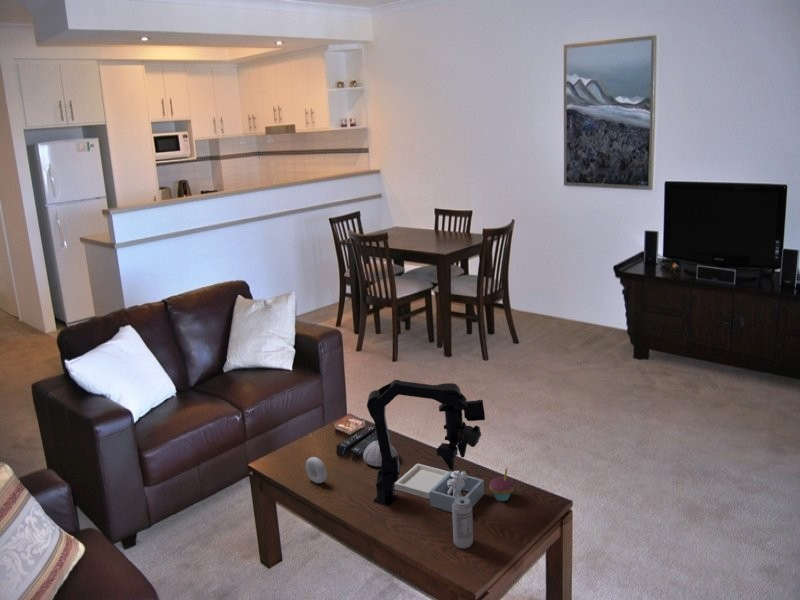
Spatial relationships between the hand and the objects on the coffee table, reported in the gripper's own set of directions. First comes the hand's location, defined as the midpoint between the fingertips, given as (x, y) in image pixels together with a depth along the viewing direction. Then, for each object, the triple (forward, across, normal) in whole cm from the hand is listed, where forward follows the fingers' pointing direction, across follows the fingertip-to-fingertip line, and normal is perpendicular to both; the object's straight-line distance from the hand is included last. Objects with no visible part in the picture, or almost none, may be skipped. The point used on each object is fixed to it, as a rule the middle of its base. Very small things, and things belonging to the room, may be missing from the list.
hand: (457, 463), depth 232 cm
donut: (+11, -11, +52) cm, 54 cm away
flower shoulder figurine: (+13, -2, 0) cm, 13 cm away
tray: (+13, +4, +16) cm, 21 cm away
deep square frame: (+13, -2, 0) cm, 13 cm away
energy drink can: (+13, -23, -11) cm, 29 cm away
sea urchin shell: (+12, +12, +38) cm, 42 cm away
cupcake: (+14, +6, -13) cm, 20 cm away
